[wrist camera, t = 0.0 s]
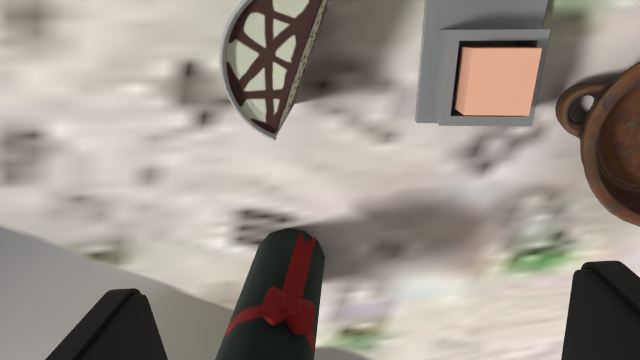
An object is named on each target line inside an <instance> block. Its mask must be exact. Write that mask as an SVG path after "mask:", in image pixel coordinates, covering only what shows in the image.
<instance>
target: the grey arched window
mask: <svg viewBox="0 0 640 360" xmlns="http://www.w3.org/2000/svg"><path fill="white" fill-rule="evenodd" d="M328 8H329V0H242V1H241V2H240V3H239V5H238V6H237V7H236V9H235V10H234V11H233V13H232V15H231V17H230V18H229V20H228V22H227V24H226V27H225V30H224V33H223V36H222V41H221V46H220V70H221V77H222V81H223V84H224V88H225V90H226V93H227V95H228V97H229V100H230V101H231V103H232V105H233V106H234V108H235V110H236V111H237V112H238V113H239V115H240V116H241V117H242V118H243V120H244V121H245V122H247V123H248V124H249V125H250V126H251V127H252V128H253V129H255V130H256V131H258V132H259V133H261V134H262V135H264V136H266V137H268V138H270V139H272V140H276V138H277V137H276V136H277V134H278V132H279V130H280V129H281V127H282V125H283V123H284V121H285V120H286V118H287V116H288V114H289V113H290V111H291V109H292V107H293V106H294V104H295V101H296V98H297V95H298V93H299V90H300V87H301V84H302V81H303V78H304V76H305V73H306V70H307V67H308V64H309V62H310V59H311V56H312V53H313V50H314V48H315V45H316V42H317V39H318V36H319V34H320V31H321V28H322V25H323V22H324V19H325V17H326V14H327V11H328Z"/></svg>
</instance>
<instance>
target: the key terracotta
mask: <svg viewBox="0 0 640 360" xmlns="http://www.w3.org/2000/svg"><path fill="white" fill-rule="evenodd" d="M541 51H542V48H534V47H461V55H460V63H459V71H458V80H457V88H456V96H455V104H454V108H455V109H456V110H458V111H459V112H460V113H462V114H463V115H502V116H529V113H530V108H531V103H532V98H533V93H534V87H535V82H536V77H537V72H538V67H539V61H540V56H541Z"/></svg>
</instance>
